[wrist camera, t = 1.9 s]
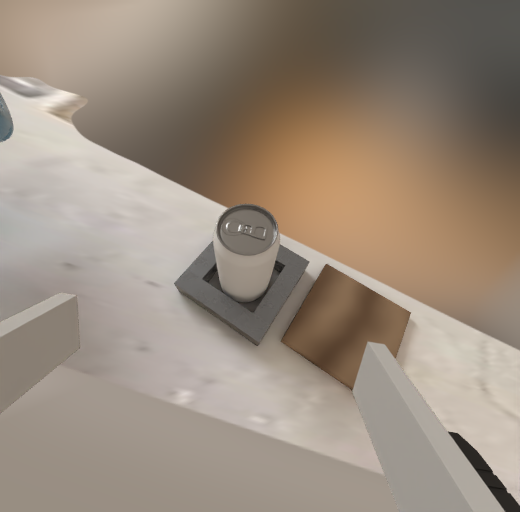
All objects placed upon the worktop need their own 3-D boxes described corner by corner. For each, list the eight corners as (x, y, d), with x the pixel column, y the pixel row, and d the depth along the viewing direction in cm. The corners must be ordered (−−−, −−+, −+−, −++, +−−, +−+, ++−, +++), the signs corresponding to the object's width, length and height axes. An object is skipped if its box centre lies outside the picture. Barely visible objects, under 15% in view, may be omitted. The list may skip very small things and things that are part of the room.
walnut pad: (280, 341, 29) (282, 339, 28) (324, 266, 35) (326, 263, 34) (374, 405, 27) (379, 405, 26) (406, 314, 32) (410, 312, 31)
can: (226, 254, 34) (221, 194, 24) (272, 263, 34) (287, 207, 24) (213, 297, 31) (201, 250, 21) (264, 308, 31) (277, 266, 21)
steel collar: (178, 290, 31) (174, 283, 29) (234, 227, 37) (234, 217, 34) (257, 346, 29) (258, 342, 27) (305, 270, 34) (309, 261, 32)
